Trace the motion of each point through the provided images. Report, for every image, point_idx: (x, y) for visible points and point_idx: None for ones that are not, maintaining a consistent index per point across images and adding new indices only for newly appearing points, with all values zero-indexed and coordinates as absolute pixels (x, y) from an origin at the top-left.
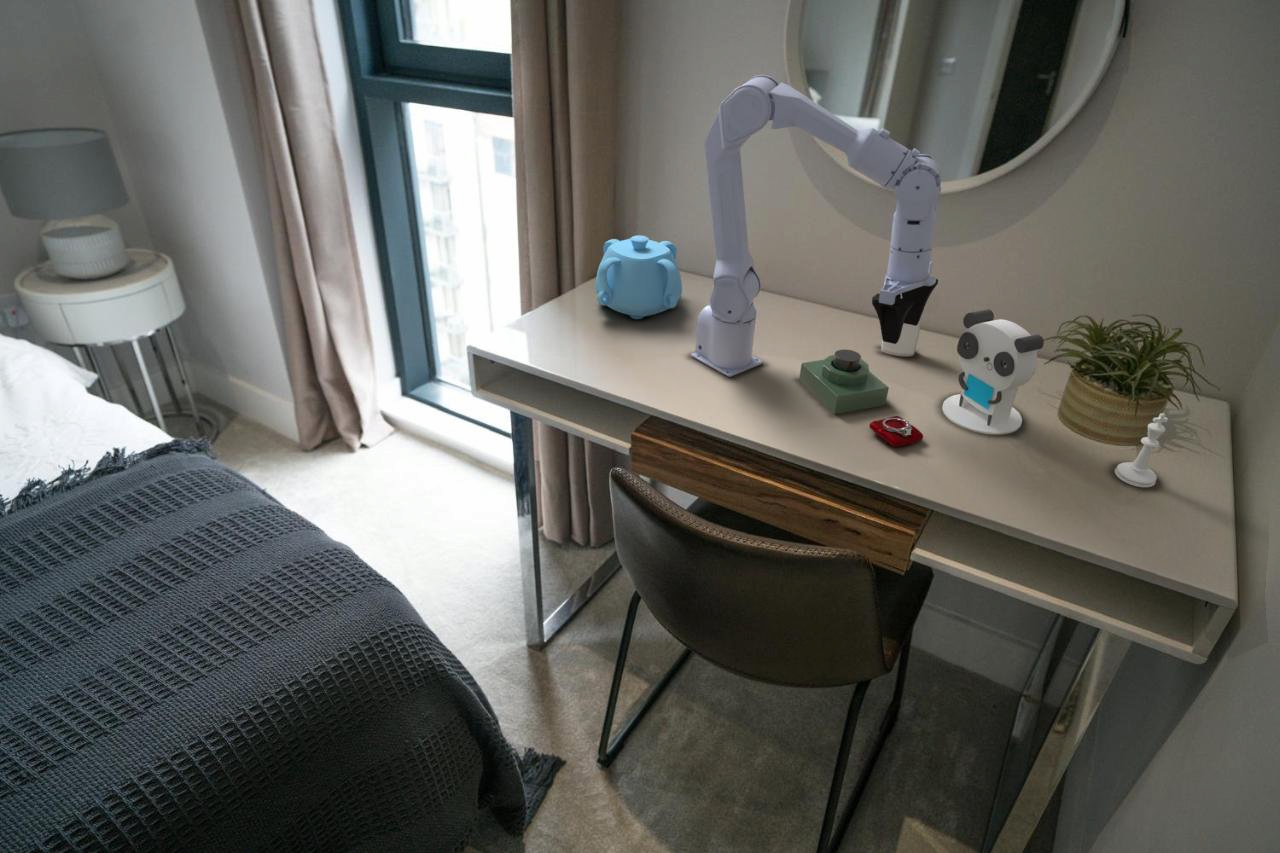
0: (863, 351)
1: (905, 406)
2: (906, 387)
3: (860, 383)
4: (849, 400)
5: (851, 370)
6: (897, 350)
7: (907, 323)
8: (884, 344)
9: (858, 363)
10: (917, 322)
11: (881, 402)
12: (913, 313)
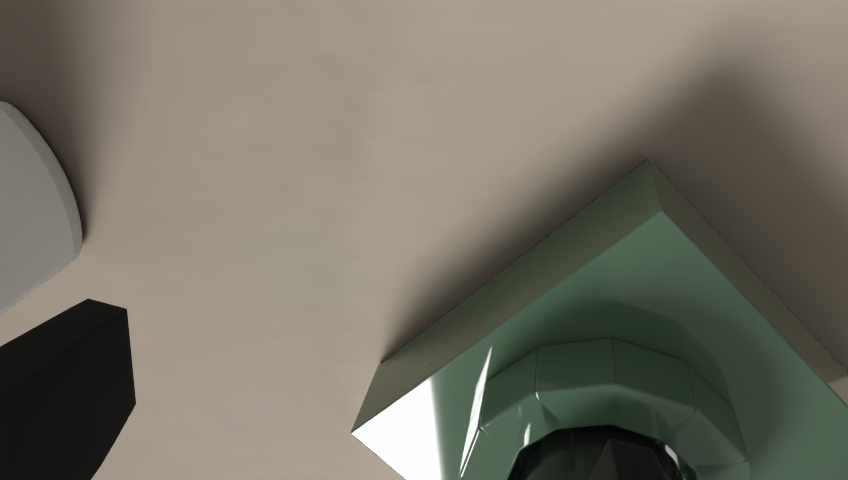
0: (131, 323)
1: (610, 44)
2: (371, 76)
3: (693, 370)
4: (827, 372)
5: (676, 472)
6: (49, 194)
7: (132, 380)
8: (54, 269)
9: None
10: (102, 327)
11: (672, 189)
12: (40, 438)
